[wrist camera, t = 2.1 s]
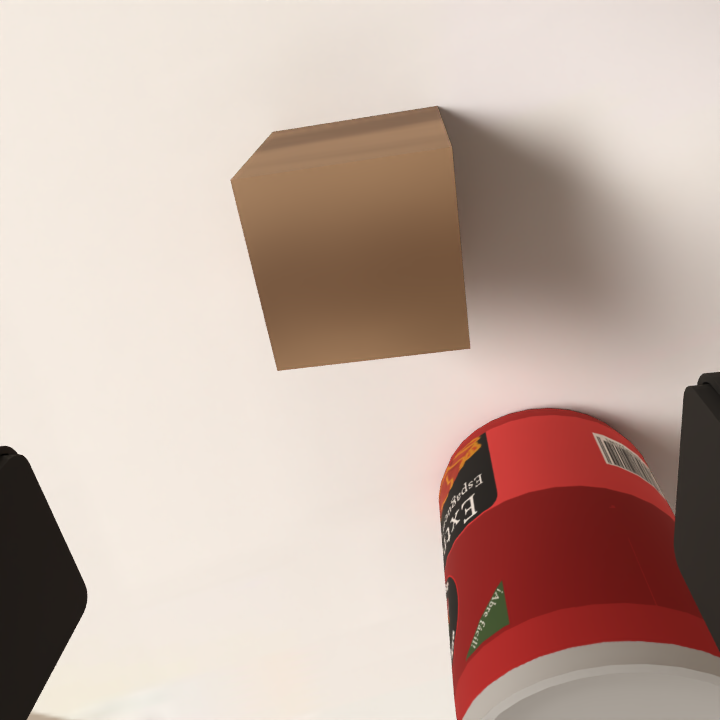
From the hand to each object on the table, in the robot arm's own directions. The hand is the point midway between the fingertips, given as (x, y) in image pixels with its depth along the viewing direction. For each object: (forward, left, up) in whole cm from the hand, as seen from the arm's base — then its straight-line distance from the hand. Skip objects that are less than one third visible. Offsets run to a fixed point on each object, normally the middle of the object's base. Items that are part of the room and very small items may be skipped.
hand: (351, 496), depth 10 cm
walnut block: (-1, 0, -14) cm, 14 cm away
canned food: (+11, +5, -14) cm, 19 cm away
